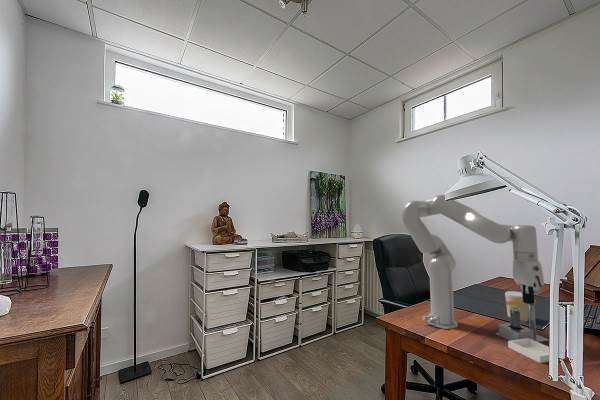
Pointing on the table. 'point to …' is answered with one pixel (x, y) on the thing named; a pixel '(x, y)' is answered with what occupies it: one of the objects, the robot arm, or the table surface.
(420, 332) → the table surface
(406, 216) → the robot arm
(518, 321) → the pin
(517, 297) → the coffee cup
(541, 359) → the tray
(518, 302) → the yellow curved piece
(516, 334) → the hitch
